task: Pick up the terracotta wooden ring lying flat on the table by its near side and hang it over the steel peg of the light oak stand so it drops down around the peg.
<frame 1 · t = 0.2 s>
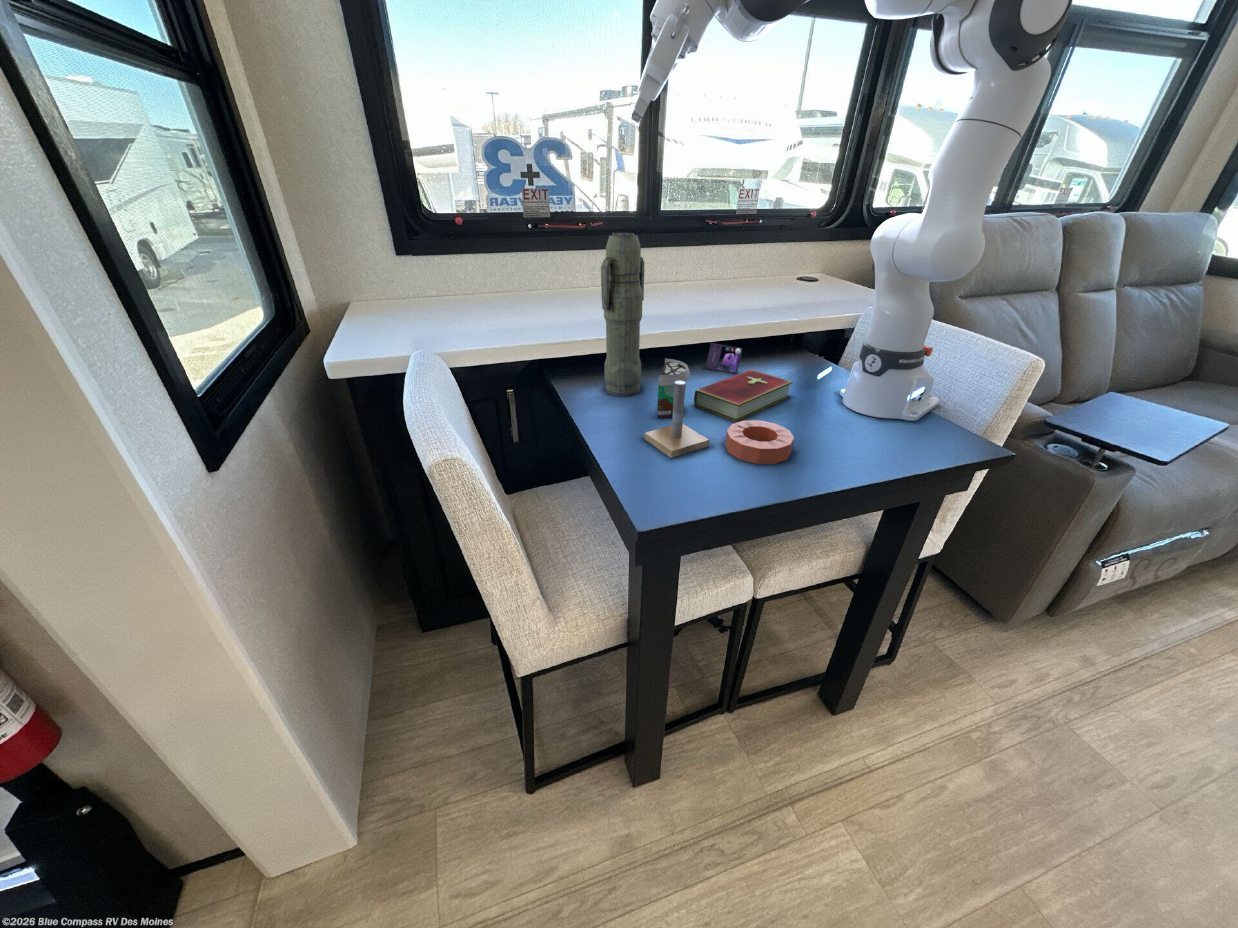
hand: (636, 117, 82), 54 cm above the table, tool tilted 30°, fingers open, 8 cm apart
purple rectangular box: (723, 369, 134), on the table
stand: (676, 442, 95), on the table
grey-green tall cylinder: (623, 390, 120), on the table
food container: (673, 411, 109), on the table
ring: (757, 448, 93), on the table
hardcover book: (742, 402, 114), on the table
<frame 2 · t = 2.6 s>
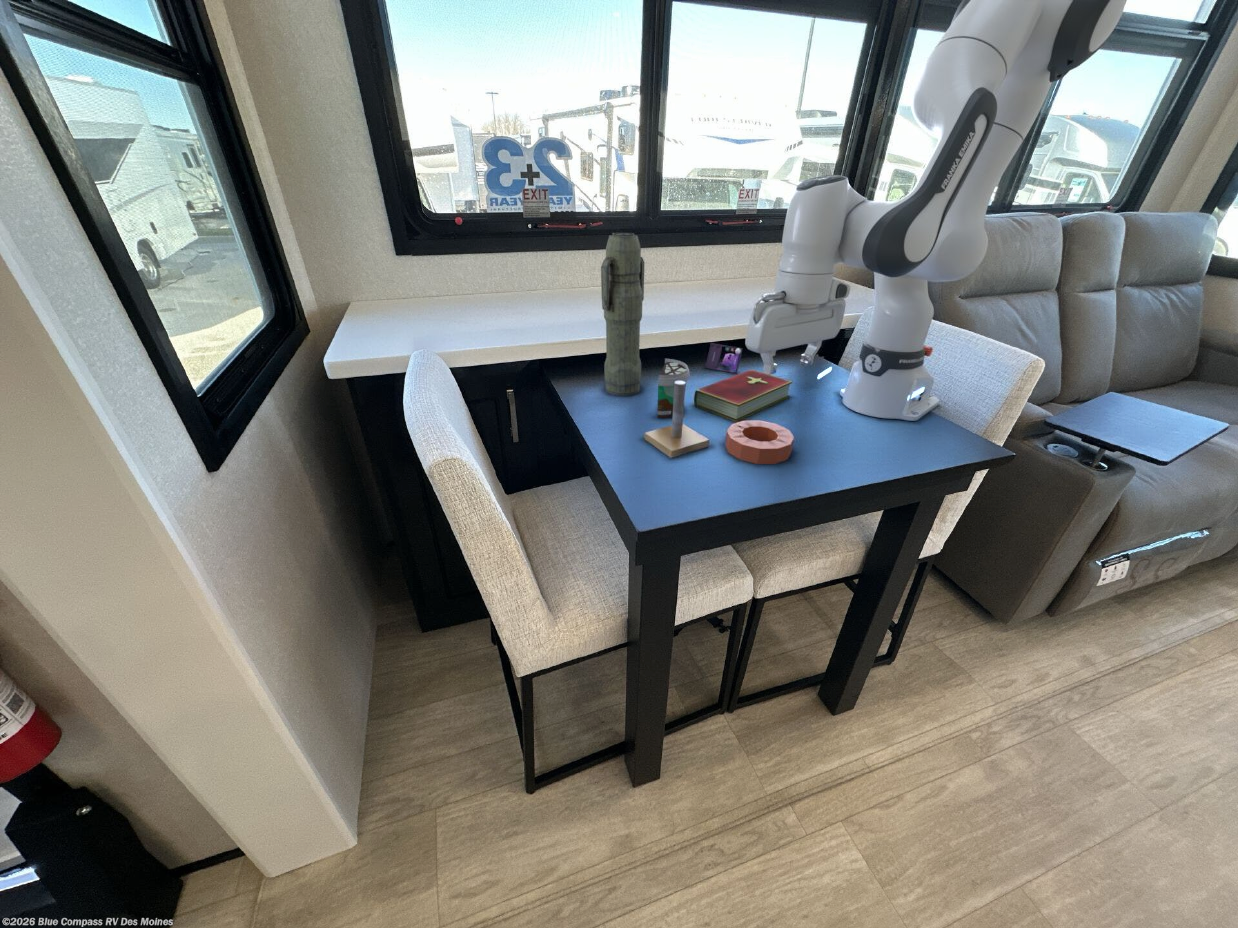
hand: (787, 368, 88), 15 cm above the table, tool pointing down, fingers open, 8 cm apart
nothing on the table moved.
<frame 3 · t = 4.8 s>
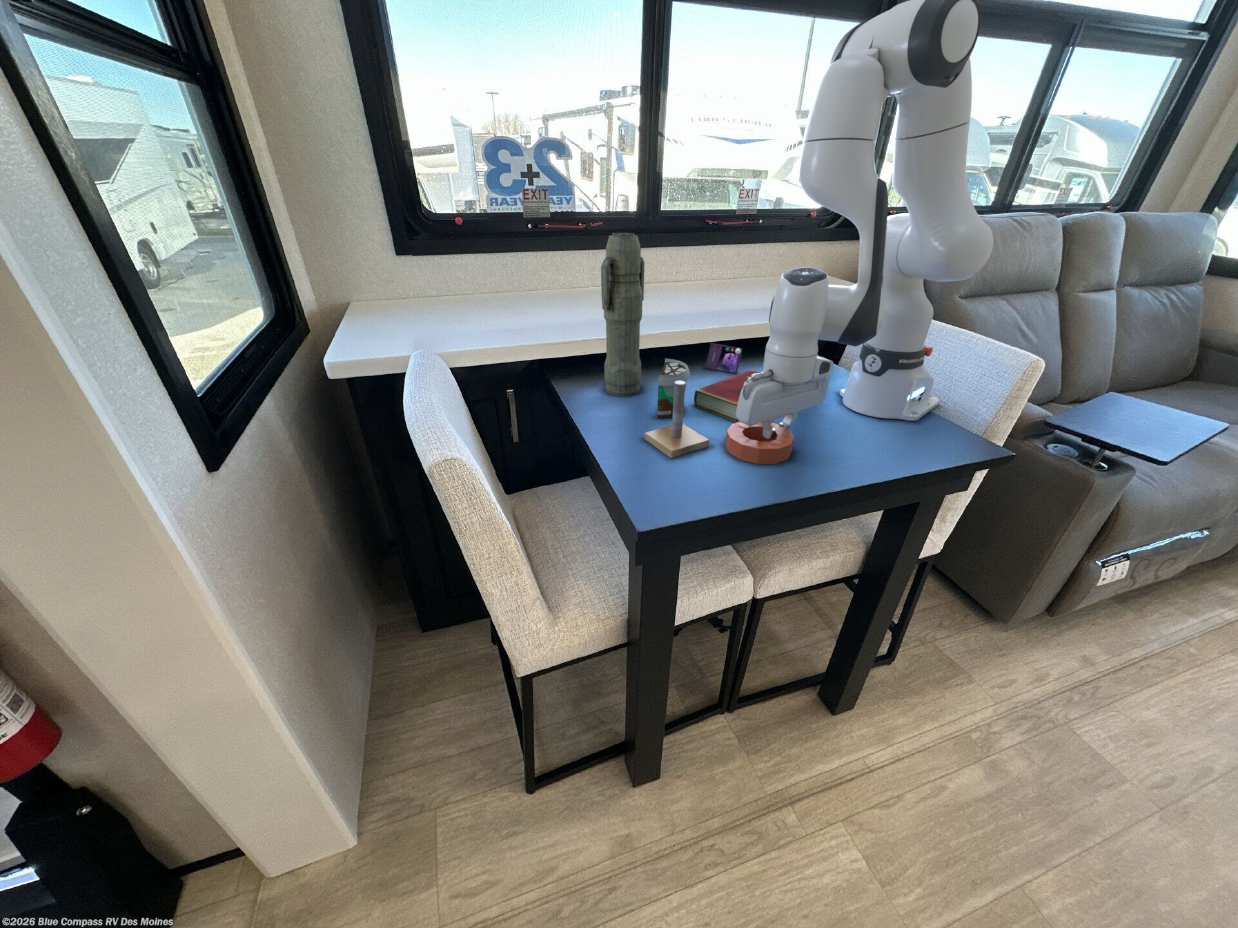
hand: (776, 434, 94), 2 cm above the table, tool pointing down, fingers closed on ring, 3 cm apart
ring: (757, 448, 93), on the table, touching gripper
everything else where it was.
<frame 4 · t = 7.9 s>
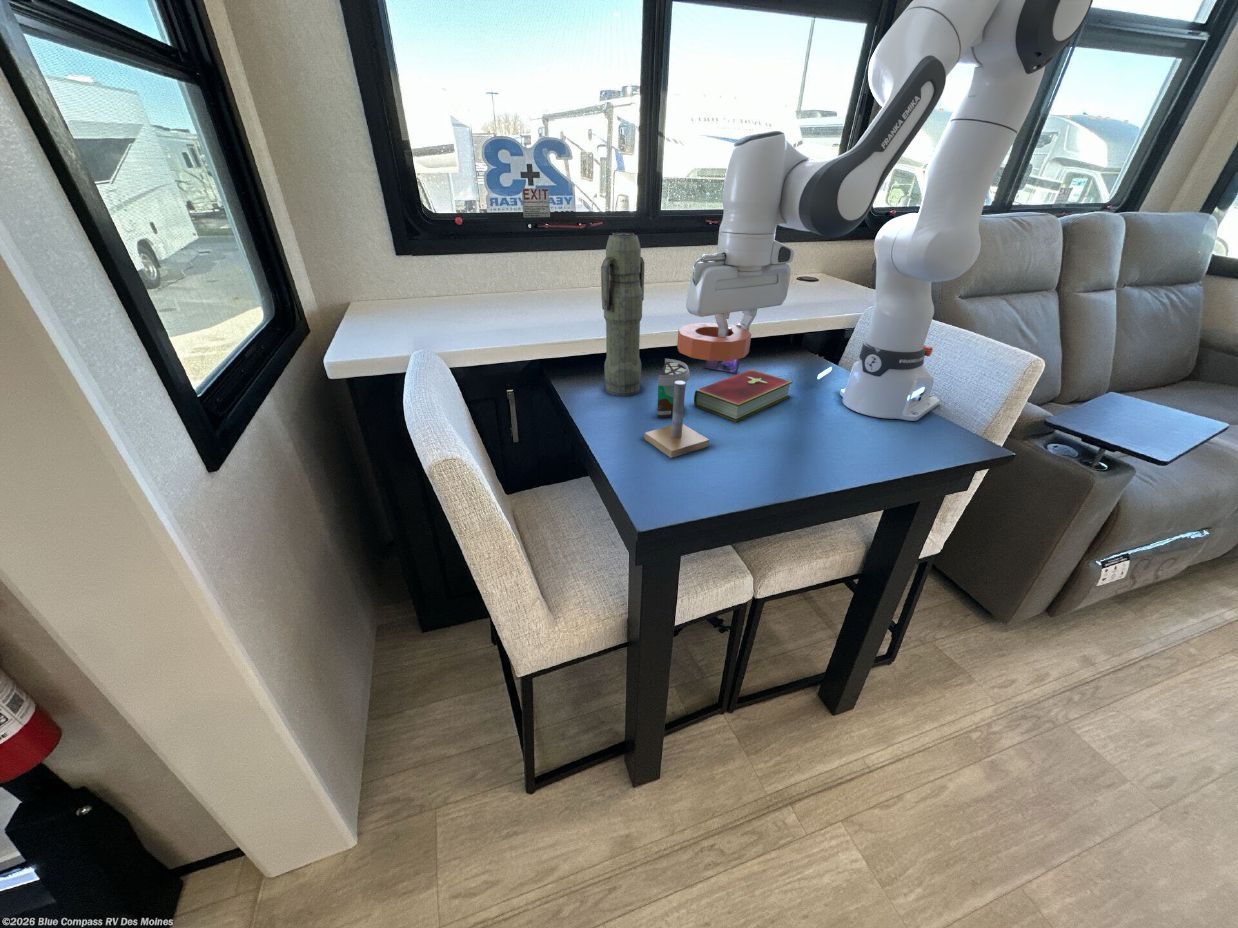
hand: (733, 336, 86), 21 cm above the table, tool pointing down, fingers closed on ring, 3 cm apart
ring: (712, 350, 85), point 19 cm above the table, touching gripper
everything else where it was.
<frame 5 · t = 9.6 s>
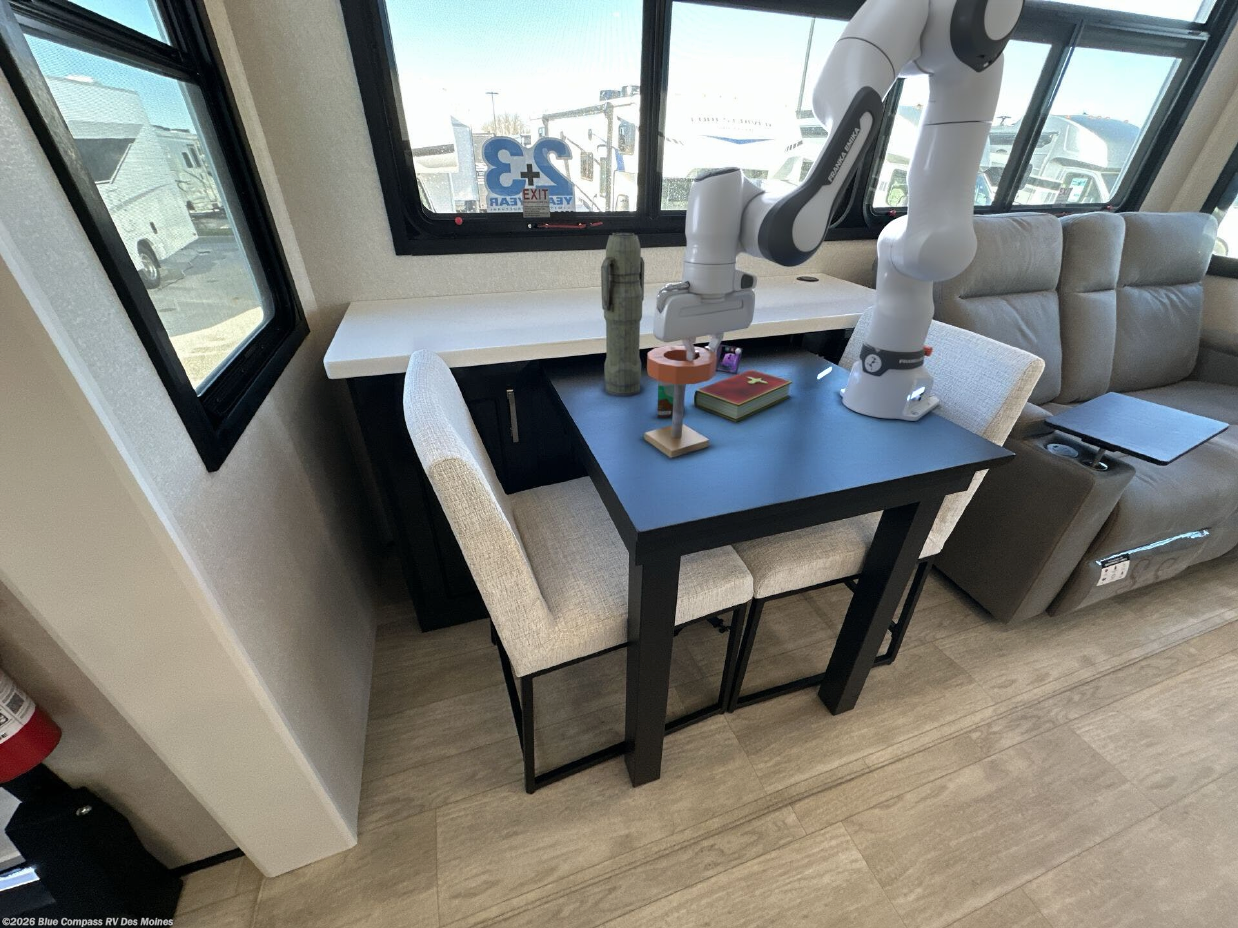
hand: (701, 358, 89), 16 cm above the table, tool pointing down, fingers closed on ring, 3 cm apart
ring: (680, 372, 88), point 14 cm above the table, touching gripper
everything else where it was.
when the fingers open (13 cm above the table, at t = 10.9 s): ring drops 9 cm, resting on stand.
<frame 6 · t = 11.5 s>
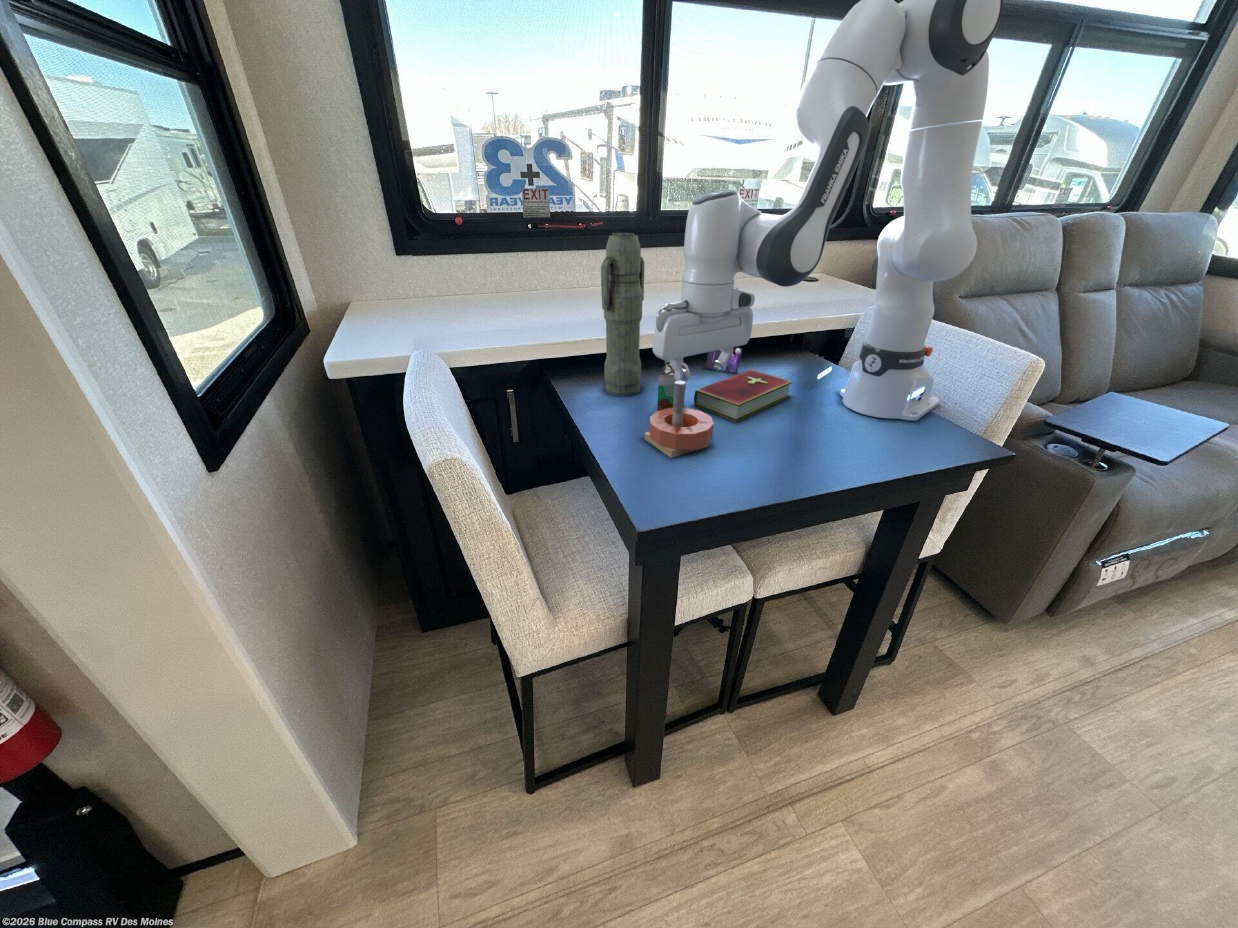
hand: (700, 374, 91), 13 cm above the table, tool pointing down, fingers open, 8 cm apart
ring: (680, 434, 95), point 1 cm above the table, touching stand
everything else where it was.
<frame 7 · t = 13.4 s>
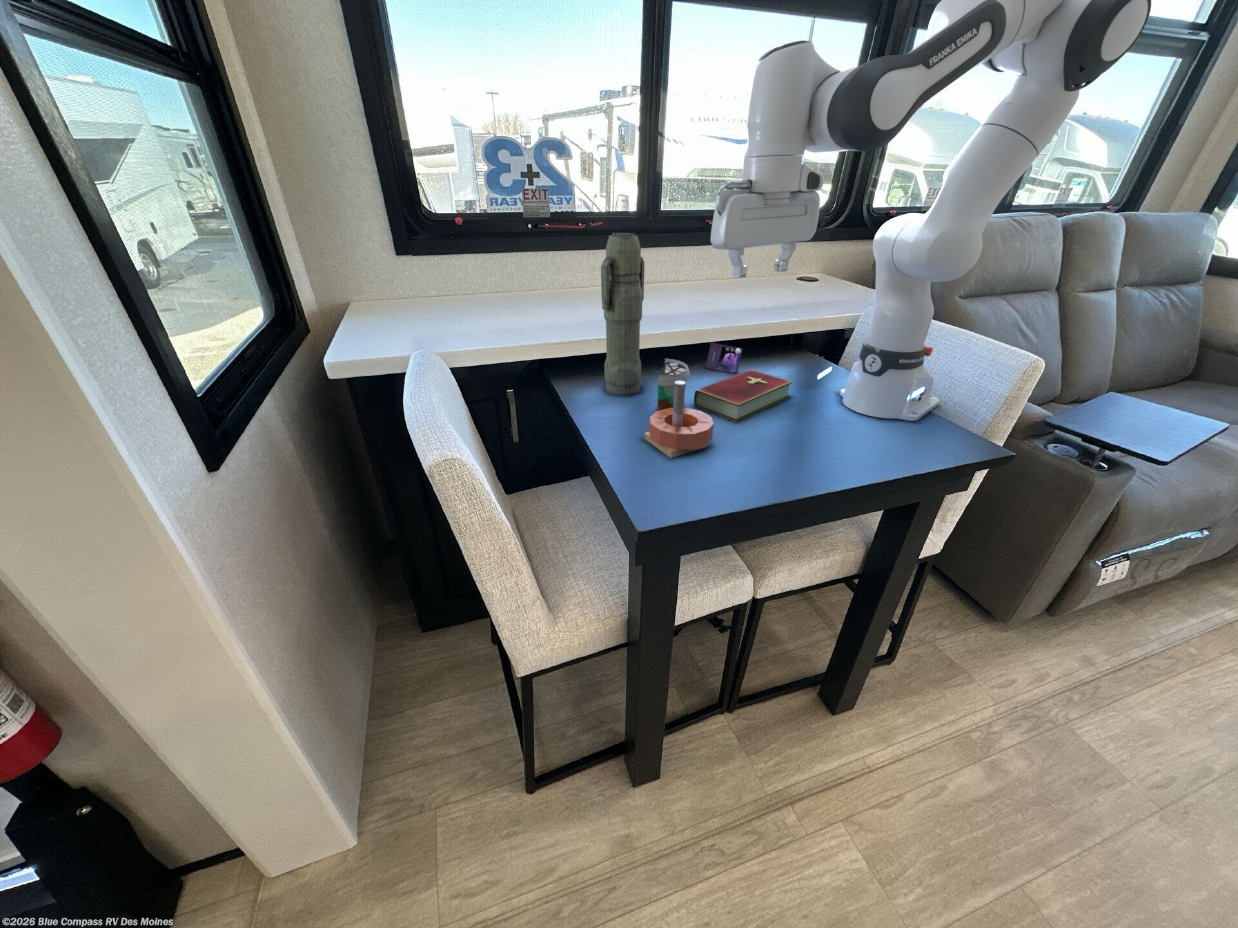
hand: (760, 274, 82), 31 cm above the table, tool pointing down, fingers open, 8 cm apart
nothing on the table moved.
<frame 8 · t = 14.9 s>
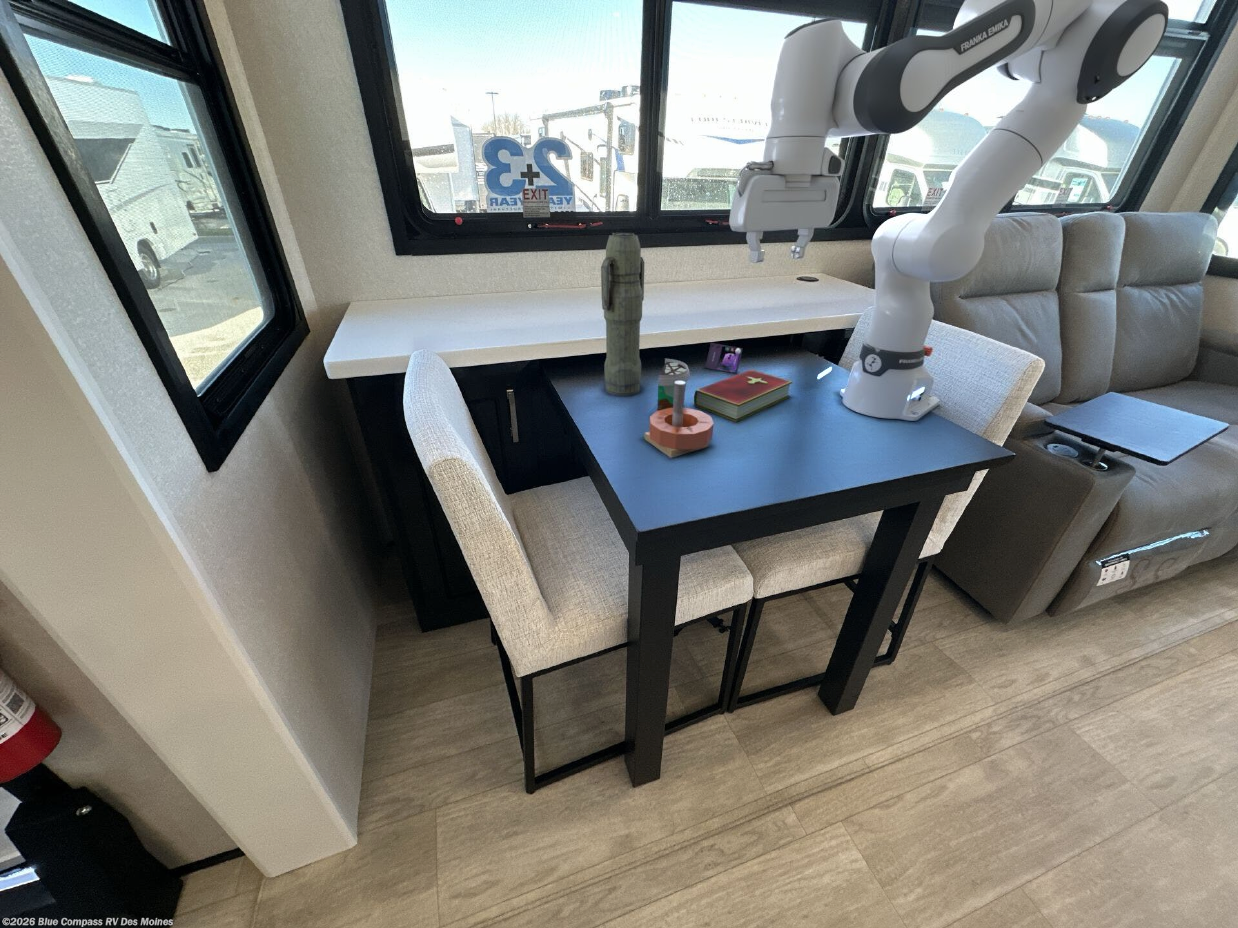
hand: (776, 260, 80), 33 cm above the table, tool pointing down, fingers open, 8 cm apart
nothing on the table moved.
at the end: ring 0.9 cm off-centre on the stand, point 1.5 cm above the stand's base; the gripper is holding nothing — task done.
